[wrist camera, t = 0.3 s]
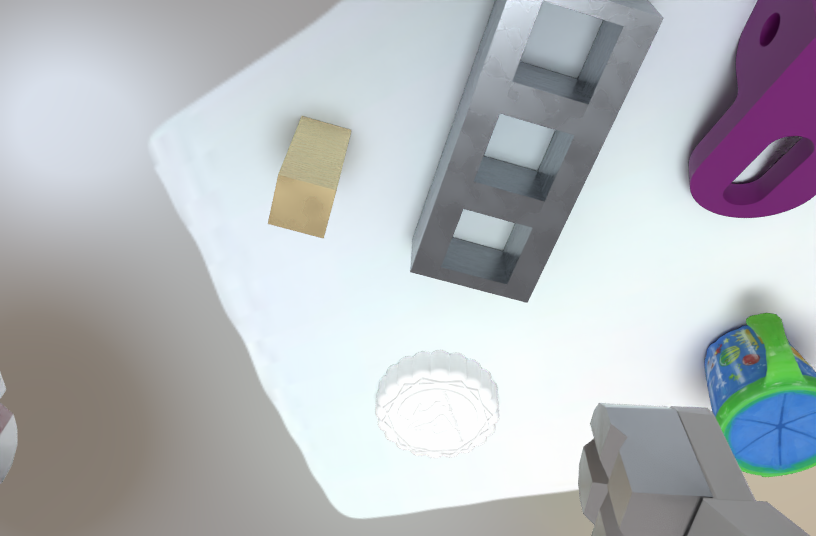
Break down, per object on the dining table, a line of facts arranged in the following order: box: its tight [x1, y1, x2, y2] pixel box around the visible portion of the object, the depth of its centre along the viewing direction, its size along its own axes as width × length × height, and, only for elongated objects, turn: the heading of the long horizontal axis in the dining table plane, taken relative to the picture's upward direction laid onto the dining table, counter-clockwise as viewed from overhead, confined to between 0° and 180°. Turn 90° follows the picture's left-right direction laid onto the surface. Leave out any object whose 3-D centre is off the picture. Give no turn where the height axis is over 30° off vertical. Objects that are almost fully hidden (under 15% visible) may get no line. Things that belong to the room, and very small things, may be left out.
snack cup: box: [705, 313, 816, 477], centre depth 66 cm, size 16×10×10 cm
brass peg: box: [268, 116, 351, 238], centre depth 56 cm, size 4×4×10 cm
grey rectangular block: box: [410, 0, 663, 302], centre depth 56 cm, size 24×10×5 cm, turn 164°
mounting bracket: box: [689, 0, 816, 218], centre depth 55 cm, size 10×8×18 cm
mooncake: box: [375, 350, 499, 458], centre depth 73 cm, size 12×12×4 cm
